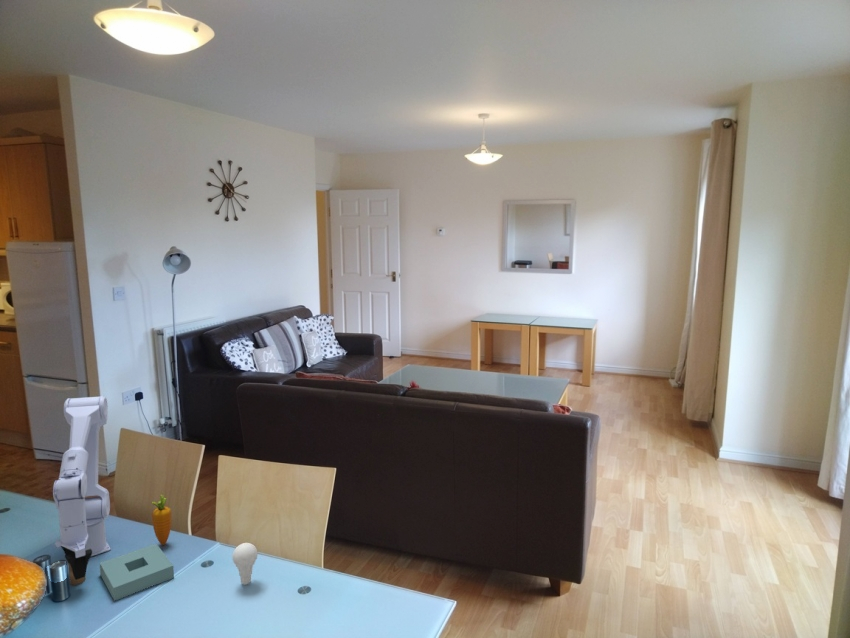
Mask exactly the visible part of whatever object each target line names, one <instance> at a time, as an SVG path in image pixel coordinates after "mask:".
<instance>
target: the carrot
mask: <svg viewBox="0 0 850 638" xmlns="http://www.w3.org/2000/svg"><path fill="white" fill-rule="evenodd" d="M164 496H165V495H163V494H160V495H159V501H158V502H156V501H152V502H151V504H152V505H154V506H155V507H157V508H155V509H154V510H153V513H152V514H151V517H152V526H153V530H154V535H155V538H156V539H157V541H158V543H160V545H161V546H162V547H164V546H165V545H166V544H167V541H168V539H169V536H170V534H171V530H172V529H171V528H172V509H171V508H170V507H168V506H165V505H166V502H167V498H166V497H164Z"/></svg>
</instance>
